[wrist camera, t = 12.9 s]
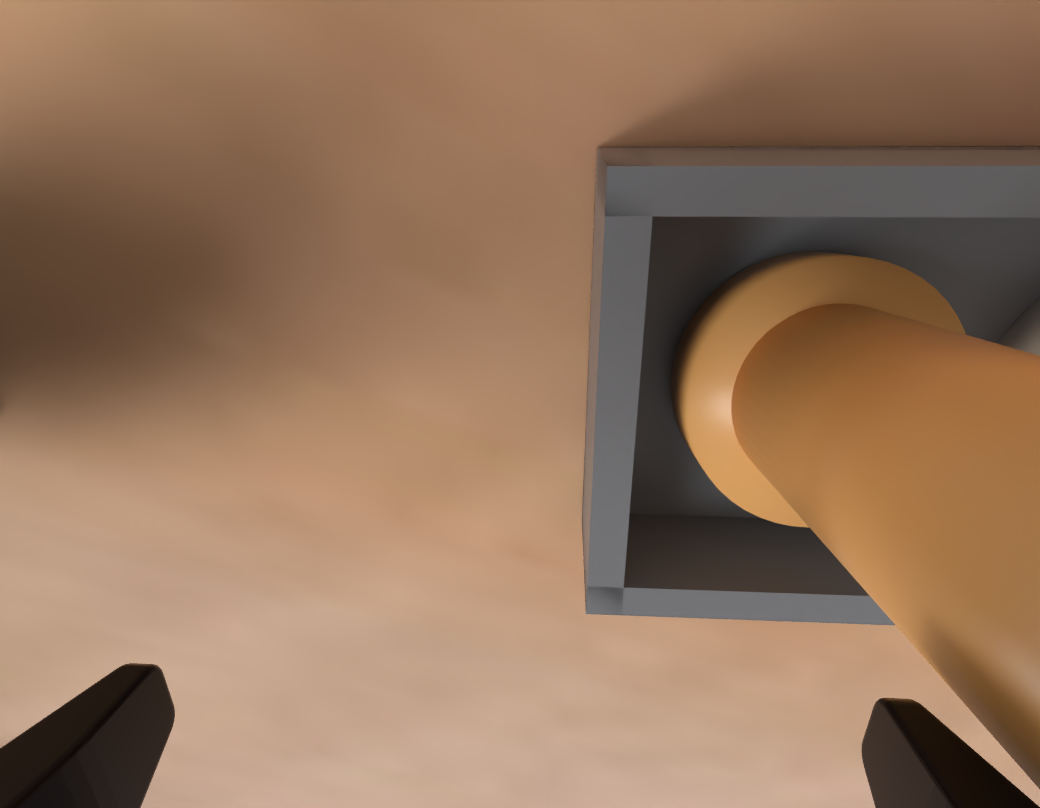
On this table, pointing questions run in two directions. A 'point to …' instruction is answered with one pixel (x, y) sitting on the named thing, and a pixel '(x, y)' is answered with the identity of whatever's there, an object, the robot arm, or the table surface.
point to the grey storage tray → (705, 267)
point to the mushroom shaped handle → (884, 458)
